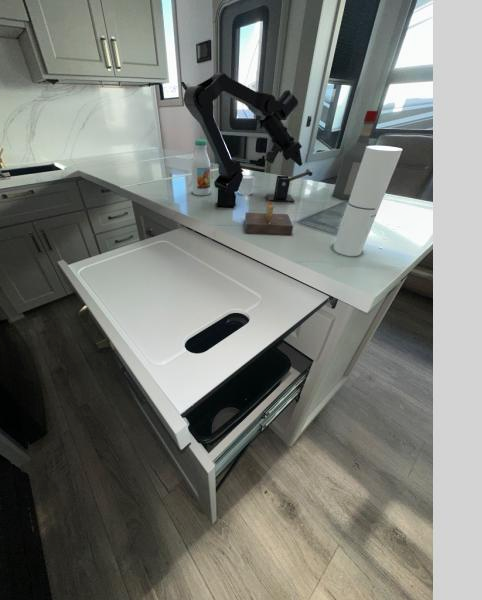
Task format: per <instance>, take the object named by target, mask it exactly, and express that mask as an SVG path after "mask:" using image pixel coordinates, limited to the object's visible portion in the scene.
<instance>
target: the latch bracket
mask: <svg viewBox="0 0 482 600" xmlns="http://www.w3.org/2000/svg"><path fill="white" fill-rule="evenodd" d="M284 177H286V178H284ZM290 178H291V177H289V175H276V181H275V187H274V193H266V199H267V202H268V201H272V203H289V204H290V203H293V204H294V203H295V199H294V197H293V195H292V194H289V189H290V183H291V181H290Z"/></svg>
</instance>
